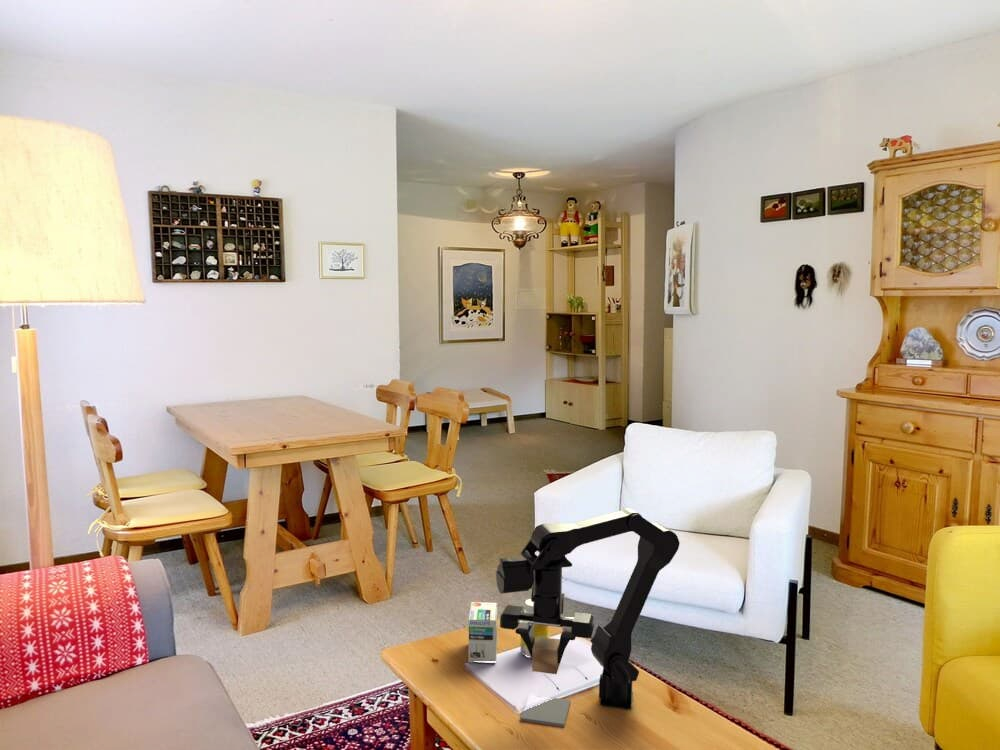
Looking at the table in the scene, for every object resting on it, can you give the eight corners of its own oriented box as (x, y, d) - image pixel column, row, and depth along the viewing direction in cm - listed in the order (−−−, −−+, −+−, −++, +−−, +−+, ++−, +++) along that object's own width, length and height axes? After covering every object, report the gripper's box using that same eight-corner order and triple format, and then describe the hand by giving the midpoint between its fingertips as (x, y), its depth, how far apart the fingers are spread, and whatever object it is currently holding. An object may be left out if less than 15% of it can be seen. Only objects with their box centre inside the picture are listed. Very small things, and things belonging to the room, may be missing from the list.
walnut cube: (560, 662, 149) (560, 639, 149) (556, 674, 145) (556, 650, 144) (536, 659, 151) (537, 636, 150) (532, 671, 146) (532, 647, 145)
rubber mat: (570, 702, 152) (570, 700, 152) (564, 726, 143) (564, 724, 143) (528, 697, 154) (528, 694, 154) (520, 720, 145) (520, 717, 145)
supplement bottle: (552, 651, 174) (553, 600, 173) (539, 662, 169) (540, 610, 167) (528, 644, 178) (529, 594, 177) (515, 655, 172) (515, 603, 171)
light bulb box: (496, 664, 168) (496, 620, 167) (467, 664, 168) (467, 619, 167) (497, 643, 178) (497, 601, 177) (470, 642, 179) (470, 601, 177)
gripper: (597, 577, 152) (596, 648, 153) (511, 569, 156) (511, 638, 158) (591, 598, 141) (590, 674, 142) (499, 588, 145) (499, 662, 147)
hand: (546, 660), depth 148 cm, fingers closed on walnut cube, 5 cm apart
